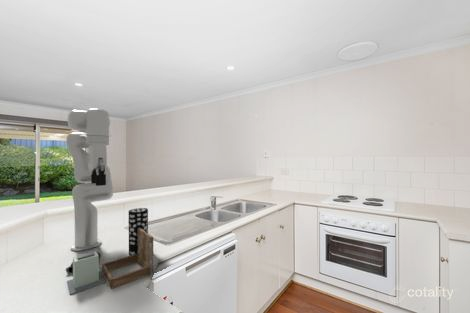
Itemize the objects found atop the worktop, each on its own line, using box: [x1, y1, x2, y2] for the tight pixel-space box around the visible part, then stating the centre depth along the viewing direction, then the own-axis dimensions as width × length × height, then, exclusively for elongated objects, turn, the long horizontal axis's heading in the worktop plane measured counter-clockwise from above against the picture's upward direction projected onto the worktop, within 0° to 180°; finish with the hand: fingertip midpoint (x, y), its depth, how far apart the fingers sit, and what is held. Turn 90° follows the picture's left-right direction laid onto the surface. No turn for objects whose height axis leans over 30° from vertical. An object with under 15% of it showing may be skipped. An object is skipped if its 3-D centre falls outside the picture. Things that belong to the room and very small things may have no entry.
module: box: [72, 250, 100, 288], centre depth 77 cm, size 5×7×10 cm
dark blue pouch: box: [65, 250, 102, 274], centre depth 91 cm, size 9×6×15 cm
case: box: [101, 228, 155, 290], centre depth 83 cm, size 16×15×14 cm
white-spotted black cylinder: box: [128, 207, 149, 256], centre depth 101 cm, size 8×8×20 cm
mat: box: [66, 270, 106, 296], centre depth 77 cm, size 10×10×1 cm
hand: (98, 184), depth 85 cm, fingers open, 9 cm apart
